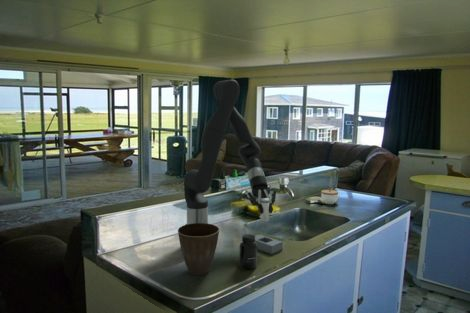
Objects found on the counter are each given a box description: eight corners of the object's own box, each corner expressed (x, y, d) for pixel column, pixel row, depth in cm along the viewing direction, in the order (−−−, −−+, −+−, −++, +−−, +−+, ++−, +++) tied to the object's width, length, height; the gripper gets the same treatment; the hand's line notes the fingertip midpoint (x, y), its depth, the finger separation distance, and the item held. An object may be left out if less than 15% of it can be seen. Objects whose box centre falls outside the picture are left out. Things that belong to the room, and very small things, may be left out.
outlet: (272, 254, 150) (272, 246, 149) (248, 245, 159) (248, 238, 158) (282, 249, 155) (282, 241, 154) (259, 241, 164) (259, 234, 163)
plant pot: (219, 280, 126) (219, 235, 124) (176, 281, 125) (176, 236, 123) (218, 262, 141) (218, 222, 139) (179, 263, 140) (179, 223, 138)
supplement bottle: (251, 272, 133) (251, 240, 131) (235, 267, 136) (235, 237, 135) (260, 265, 139) (260, 235, 137) (244, 261, 142) (245, 231, 141)
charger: (265, 222, 154) (265, 200, 153) (258, 220, 156) (259, 198, 155) (270, 220, 156) (271, 198, 155) (264, 218, 159) (264, 197, 158)
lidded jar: (320, 200, 241) (320, 187, 240) (336, 201, 240) (337, 187, 239) (321, 204, 231) (322, 190, 230) (338, 205, 229) (339, 191, 228)
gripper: (244, 175, 159) (253, 209, 149) (274, 174, 163) (284, 207, 153) (240, 184, 165) (248, 218, 155) (269, 183, 169) (279, 215, 159)
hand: (266, 212), depth 154 cm, fingers closed on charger, 3 cm apart
